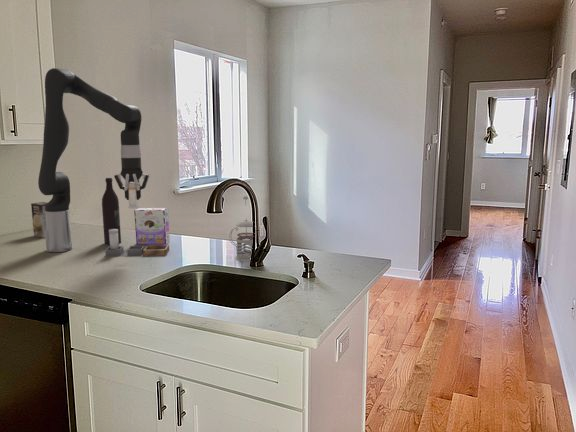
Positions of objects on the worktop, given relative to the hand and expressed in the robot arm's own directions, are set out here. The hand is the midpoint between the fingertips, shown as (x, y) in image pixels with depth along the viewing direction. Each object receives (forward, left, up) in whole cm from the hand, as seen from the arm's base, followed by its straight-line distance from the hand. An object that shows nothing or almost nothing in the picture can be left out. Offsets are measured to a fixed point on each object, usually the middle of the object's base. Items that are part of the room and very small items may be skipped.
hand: (133, 199), depth 199 cm
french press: (+44, -10, -23) cm, 51 cm away
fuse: (-8, 0, -22) cm, 24 cm away
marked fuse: (0, 0, -3) cm, 3 cm away
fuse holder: (-4, 0, -23) cm, 23 cm away
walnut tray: (+8, 0, -23) cm, 24 cm away
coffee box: (-52, +45, -23) cm, 73 cm away
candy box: (+4, +19, -23) cm, 30 cm away
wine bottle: (-14, +21, -23) cm, 34 cm away
